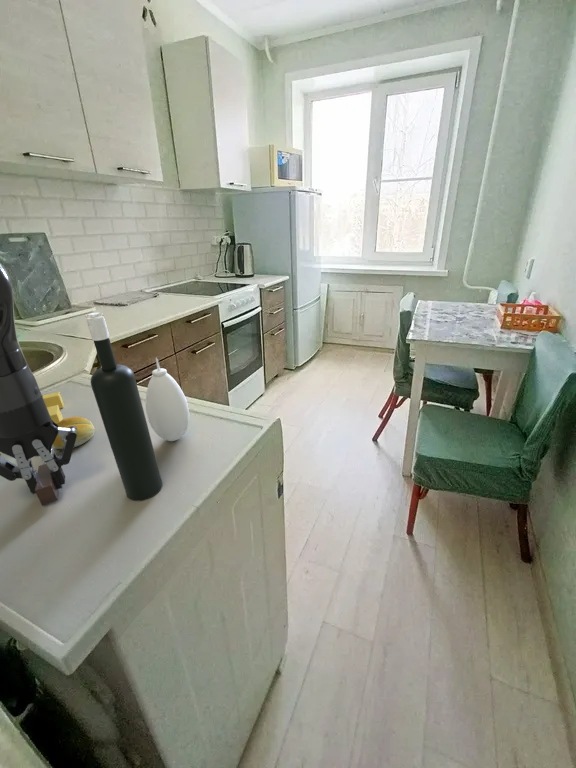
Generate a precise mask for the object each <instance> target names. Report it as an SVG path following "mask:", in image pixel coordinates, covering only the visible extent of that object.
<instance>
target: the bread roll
mask: <svg viewBox="0 0 576 768" xmlns="http://www.w3.org/2000/svg"><path fill="white" fill-rule="evenodd" d="M57 425H58V427H62V428H69V427H70V426H75V427H76V428H77V437H76V441H75V444H74V448H77V447H80V446H81V445H83V444H85V443H87V442H88V441H89V440H91V439H92V438H93V436H94V435H95V432H96V428H95V426H94V424H93V422H91V420H89V419H87V418H86V417H82V416H69V417H66V418H63V420H61V421H60V422H58V423H57ZM64 443H65V442H63V441H62V440H61V436H60V435H57V437H56V439H55V441H54V443H53V445H54V447H55V450H63V447H64Z"/></svg>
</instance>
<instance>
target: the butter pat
mask: <svg viewBox="0 0 576 768" xmlns="http://www.w3.org/2000/svg"><path fill="white" fill-rule="evenodd" d="M42 397H43V399H44V402H45V404H46V407H51V406H55V405H58V406H59V409H64V404H65V403H64V400H63V398H62V395H61V392H60V391H55V392H51V393H46V394H42Z"/></svg>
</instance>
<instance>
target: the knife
mask: <svg viewBox="0 0 576 768" xmlns="http://www.w3.org/2000/svg"><path fill="white" fill-rule="evenodd" d="M52 447H53V448H54V452H55V453H56V454H57V449H55V447H54V445H52ZM37 473H38V475H37V481H36V486H35V492H36V493H35V494H36V497H37V498H38V501H39V502H40V505H41V506H46V505H48V504H51V503H55V502H57V501H58V500H59V489H57V487H56V485H55V483H54V480H53V478H52V477H51V474H50V469H49V468H48V466H47V464H46V463H45V462H44V463H43V464H40V465H38V469H37Z"/></svg>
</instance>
